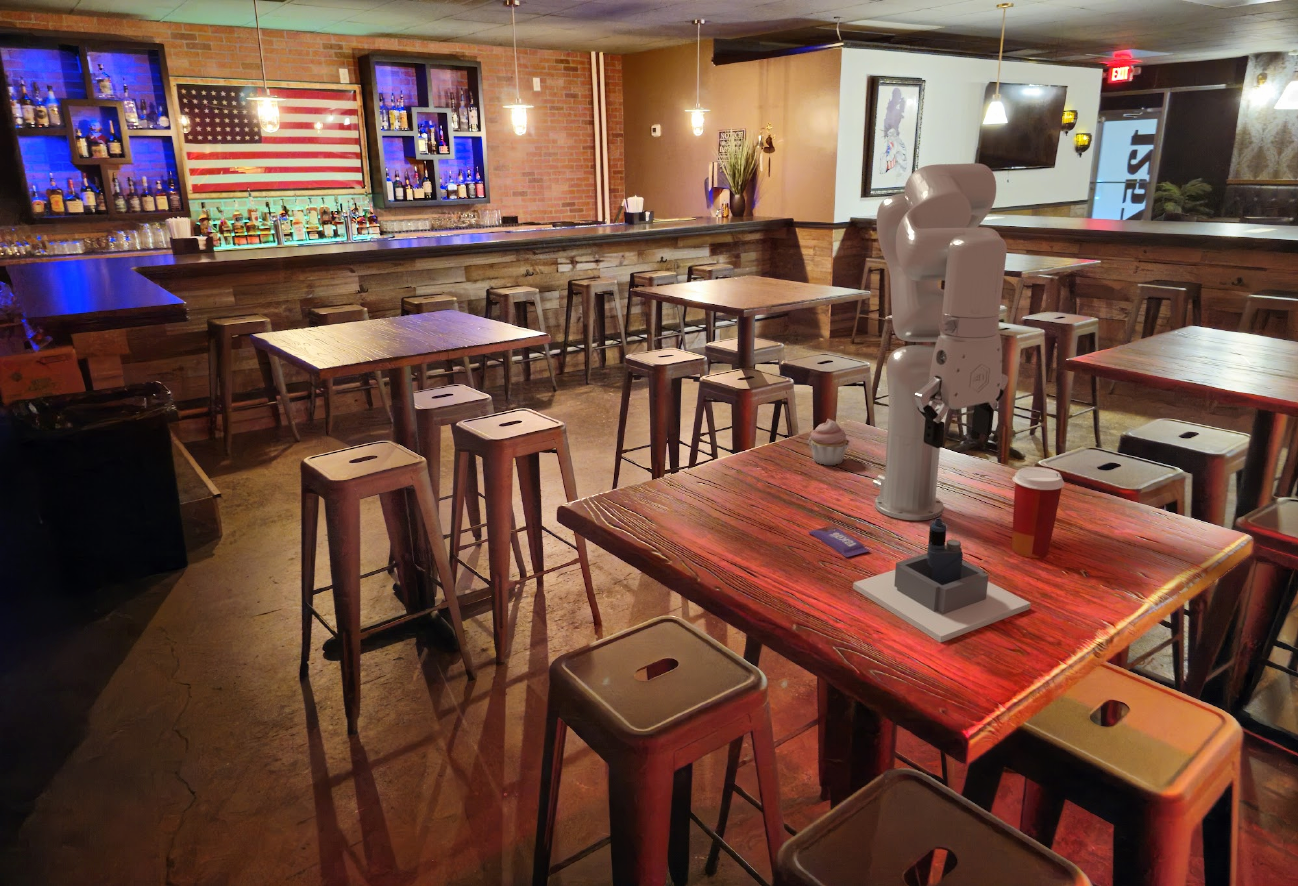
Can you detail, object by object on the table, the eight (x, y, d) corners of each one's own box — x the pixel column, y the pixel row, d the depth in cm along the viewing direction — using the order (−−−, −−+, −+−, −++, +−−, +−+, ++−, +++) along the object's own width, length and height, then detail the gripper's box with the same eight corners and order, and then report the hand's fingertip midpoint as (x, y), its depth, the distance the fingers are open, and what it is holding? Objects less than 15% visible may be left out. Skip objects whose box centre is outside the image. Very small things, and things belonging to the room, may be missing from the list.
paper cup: (1052, 543, 142) (1062, 467, 137) (1057, 563, 135) (1068, 484, 130) (1002, 538, 144) (1011, 463, 140) (1005, 557, 137) (1014, 479, 133)
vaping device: (921, 588, 126) (927, 516, 123) (955, 586, 127) (962, 514, 123) (927, 596, 124) (933, 523, 120) (961, 594, 124) (969, 521, 120)
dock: (853, 588, 129) (854, 559, 127) (937, 561, 137) (939, 534, 135) (940, 642, 114) (943, 610, 112) (1029, 609, 122) (1033, 578, 120)
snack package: (870, 545, 140) (846, 552, 138) (870, 555, 141) (846, 562, 139) (830, 521, 150) (807, 526, 148) (830, 530, 151) (807, 536, 149)
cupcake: (804, 454, 189) (806, 412, 186) (846, 454, 188) (848, 412, 185) (808, 468, 180) (809, 424, 177) (851, 468, 179) (853, 424, 176)
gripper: (943, 339, 109) (932, 458, 115) (1034, 322, 116) (1019, 435, 122) (903, 328, 116) (894, 442, 122) (992, 313, 123) (980, 421, 129)
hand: (957, 439), depth 122 cm, fingers open, 9 cm apart
